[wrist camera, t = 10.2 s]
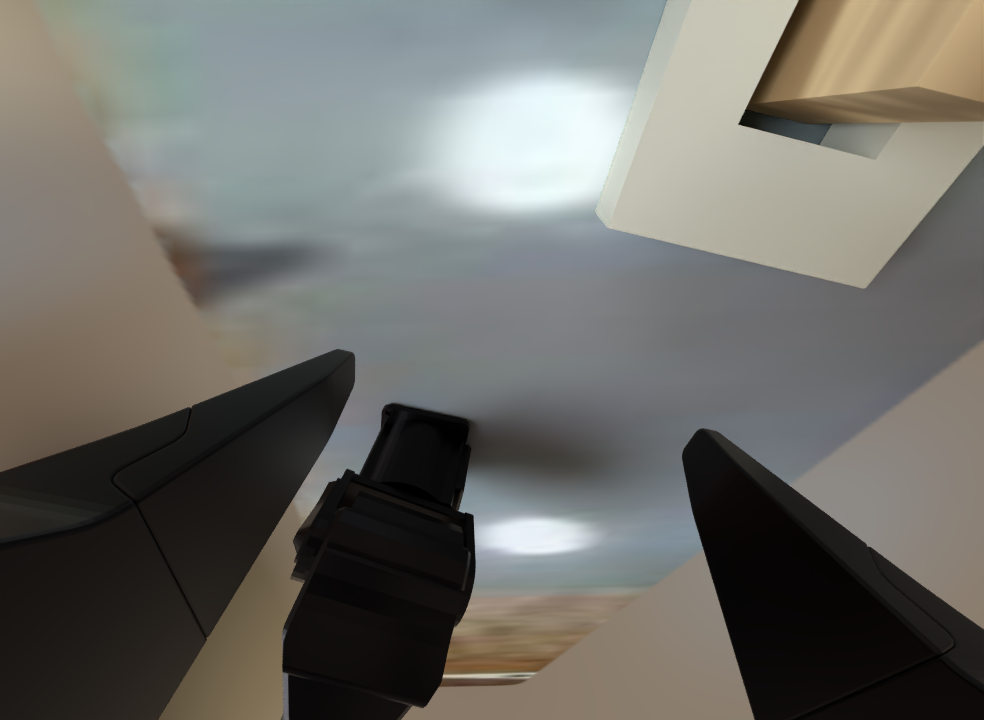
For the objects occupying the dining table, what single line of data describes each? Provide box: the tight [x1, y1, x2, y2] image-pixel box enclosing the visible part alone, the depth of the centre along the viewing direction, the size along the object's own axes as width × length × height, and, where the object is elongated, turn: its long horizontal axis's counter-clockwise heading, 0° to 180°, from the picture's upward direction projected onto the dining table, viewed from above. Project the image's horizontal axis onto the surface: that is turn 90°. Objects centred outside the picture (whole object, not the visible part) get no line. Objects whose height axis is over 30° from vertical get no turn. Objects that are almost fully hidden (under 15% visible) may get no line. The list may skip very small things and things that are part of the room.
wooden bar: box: [746, 0, 984, 124], centre depth 11 cm, size 4×5×9 cm
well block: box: [595, 0, 984, 289], centre depth 13 cm, size 12×16×4 cm
